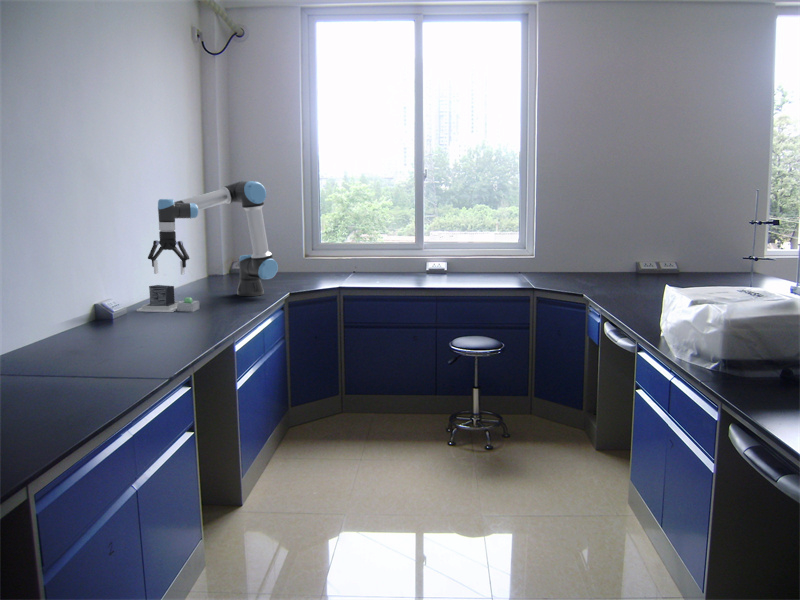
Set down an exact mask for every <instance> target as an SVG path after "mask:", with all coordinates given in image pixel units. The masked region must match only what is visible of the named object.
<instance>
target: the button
mask: <svg viewBox="0 0 800 600" xmlns="http://www.w3.org/2000/svg"><path fill="white" fill-rule="evenodd" d="M183 300H184V303H192V301H193V298H192V297H184V298H183Z"/></svg>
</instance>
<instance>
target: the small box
mask: <svg viewBox="0 0 800 600" xmlns="http://www.w3.org/2000/svg"><path fill="white" fill-rule="evenodd" d="M148 289H149V303H150V306H170V305H173V304H175V301H176V300H175V286H174V285H162V284H156V285H149V286H148Z"/></svg>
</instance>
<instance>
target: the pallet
mask: <svg viewBox="0 0 800 600" xmlns="http://www.w3.org/2000/svg"><path fill="white" fill-rule="evenodd" d="M181 301H182V300H175V304H173V305H170V306H150V302H148V303H145V304H144V305H141V307H139V308H137V309H136V312H150V313H151V312H152V313H153V312H155V313H157V312H158V313H173V312H174V311H175V312H176V311H177V303H179V302H181ZM175 312H174V313H175ZM177 312H178V311H177Z"/></svg>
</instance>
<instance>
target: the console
mask: <svg viewBox="0 0 800 600" xmlns="http://www.w3.org/2000/svg"><path fill="white" fill-rule="evenodd" d="M180 301H181V302H179V303H177V312H191V313H193V312H196V311H197V310H200V301H199V300H192V303H184V299H183V300H180Z"/></svg>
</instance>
